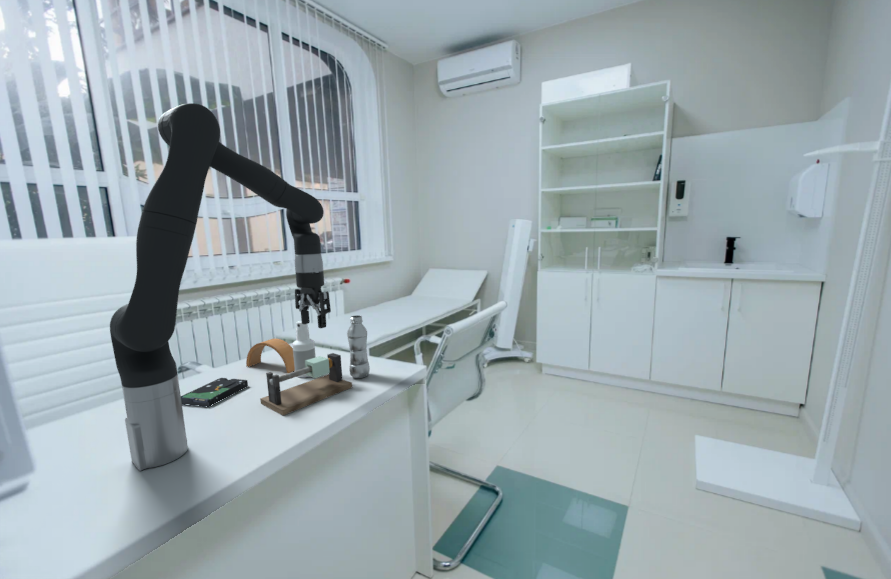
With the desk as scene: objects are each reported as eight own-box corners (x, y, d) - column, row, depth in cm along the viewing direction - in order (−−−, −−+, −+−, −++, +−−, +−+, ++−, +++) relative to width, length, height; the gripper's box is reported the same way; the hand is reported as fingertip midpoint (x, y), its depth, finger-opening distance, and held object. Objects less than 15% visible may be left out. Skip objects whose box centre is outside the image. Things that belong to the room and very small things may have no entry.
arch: (288, 374, 128) (285, 345, 127) (246, 367, 136) (243, 340, 135) (301, 368, 133) (298, 341, 132) (260, 362, 141) (257, 336, 140)
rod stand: (283, 415, 98) (279, 380, 97) (260, 403, 106) (257, 370, 104) (352, 387, 115) (350, 357, 114) (328, 378, 123) (326, 350, 121)
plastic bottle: (372, 372, 127) (369, 314, 124) (366, 380, 120) (362, 319, 117) (353, 372, 127) (350, 314, 124) (346, 380, 121) (342, 319, 118)
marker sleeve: (314, 378, 109) (313, 363, 108) (306, 374, 112) (305, 360, 111) (329, 372, 113) (328, 358, 112) (321, 369, 116) (320, 356, 115)
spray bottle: (290, 377, 125) (285, 323, 122) (304, 369, 132) (299, 319, 129) (308, 378, 123) (303, 324, 120) (321, 371, 130) (316, 319, 127)
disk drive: (221, 385, 121) (179, 406, 107) (220, 377, 121) (178, 396, 106) (249, 388, 119) (209, 409, 104) (248, 379, 118) (208, 399, 104)
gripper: (283, 270, 109) (288, 325, 112) (311, 272, 101) (316, 332, 103) (307, 268, 115) (311, 320, 118) (335, 269, 106) (339, 326, 109)
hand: (313, 325), depth 110 cm, fingers open, 8 cm apart
